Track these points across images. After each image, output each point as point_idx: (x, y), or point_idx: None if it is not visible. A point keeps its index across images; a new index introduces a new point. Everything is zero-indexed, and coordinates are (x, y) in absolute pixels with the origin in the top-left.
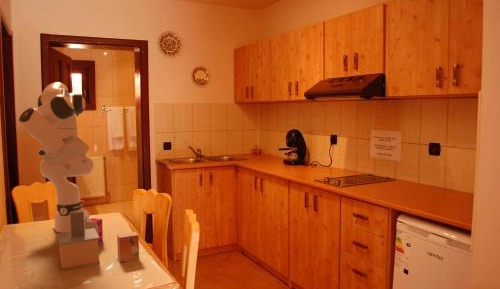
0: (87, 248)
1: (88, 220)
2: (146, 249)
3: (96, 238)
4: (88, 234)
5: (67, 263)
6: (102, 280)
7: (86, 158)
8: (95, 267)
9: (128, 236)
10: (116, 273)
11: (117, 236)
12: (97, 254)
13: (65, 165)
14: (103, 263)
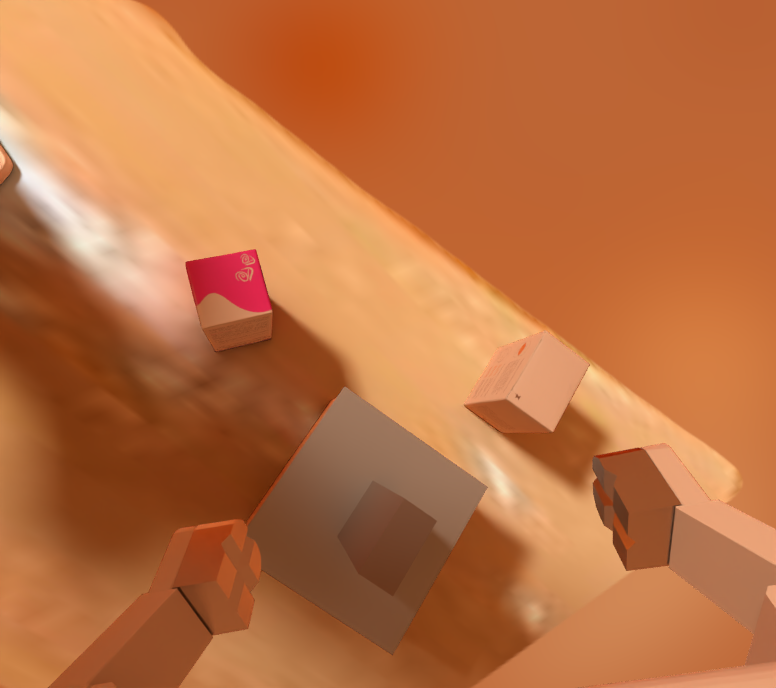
0: None
1: (208, 308)
2: (489, 287)
3: (480, 498)
4: (403, 478)
5: None
6: (567, 579)
7: (693, 496)
8: None
9: (570, 399)
10: (562, 512)
11: (510, 405)
12: None
13: (180, 642)
14: None
